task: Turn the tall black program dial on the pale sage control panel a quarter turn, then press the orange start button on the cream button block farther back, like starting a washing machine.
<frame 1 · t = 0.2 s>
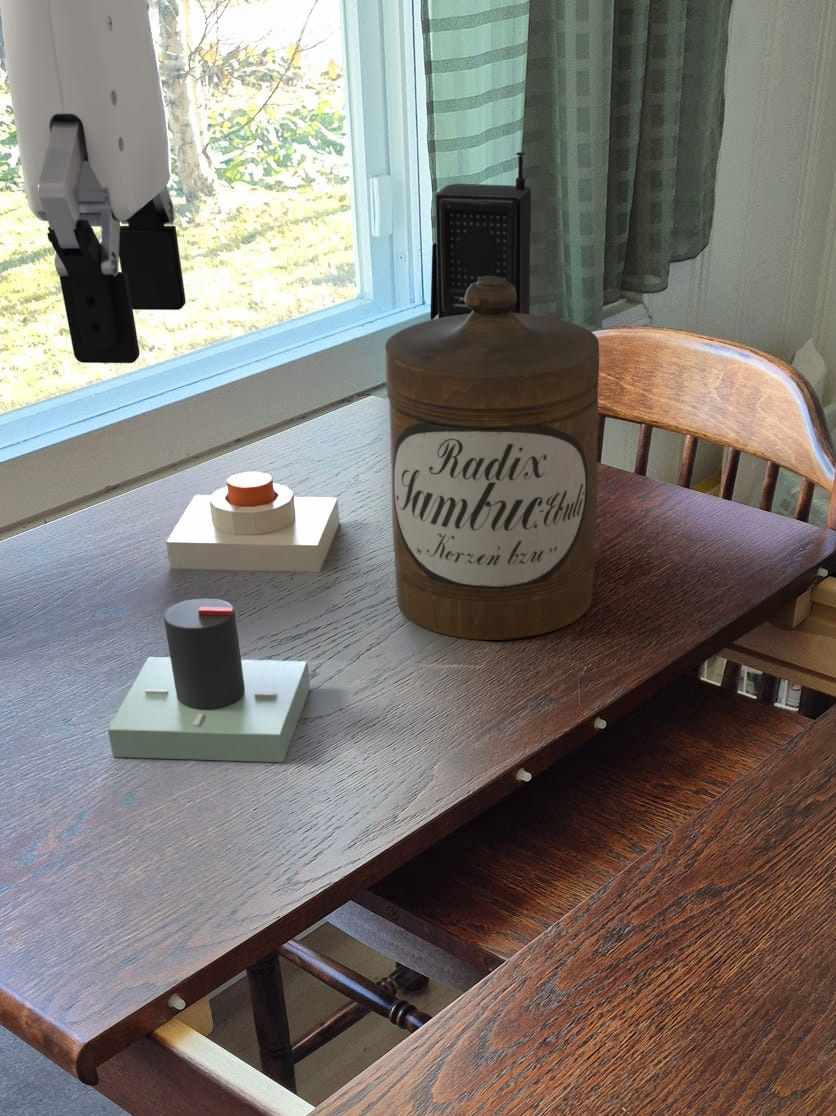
hand: (133, 333, 75), 25 cm above the table, tool pointing down, fingers open, 9 cm apart
start button: (250, 490, 113), point 4 cm above the table, slide at 0.1 cm
wooden container: (494, 601, 108), on the table
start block: (257, 545, 116), on the table
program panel: (215, 721, 94), on the table
dial: (204, 651, 91), point 5 cm above the table, hinge at 0.0°
portable radio: (480, 484, 126), on the table
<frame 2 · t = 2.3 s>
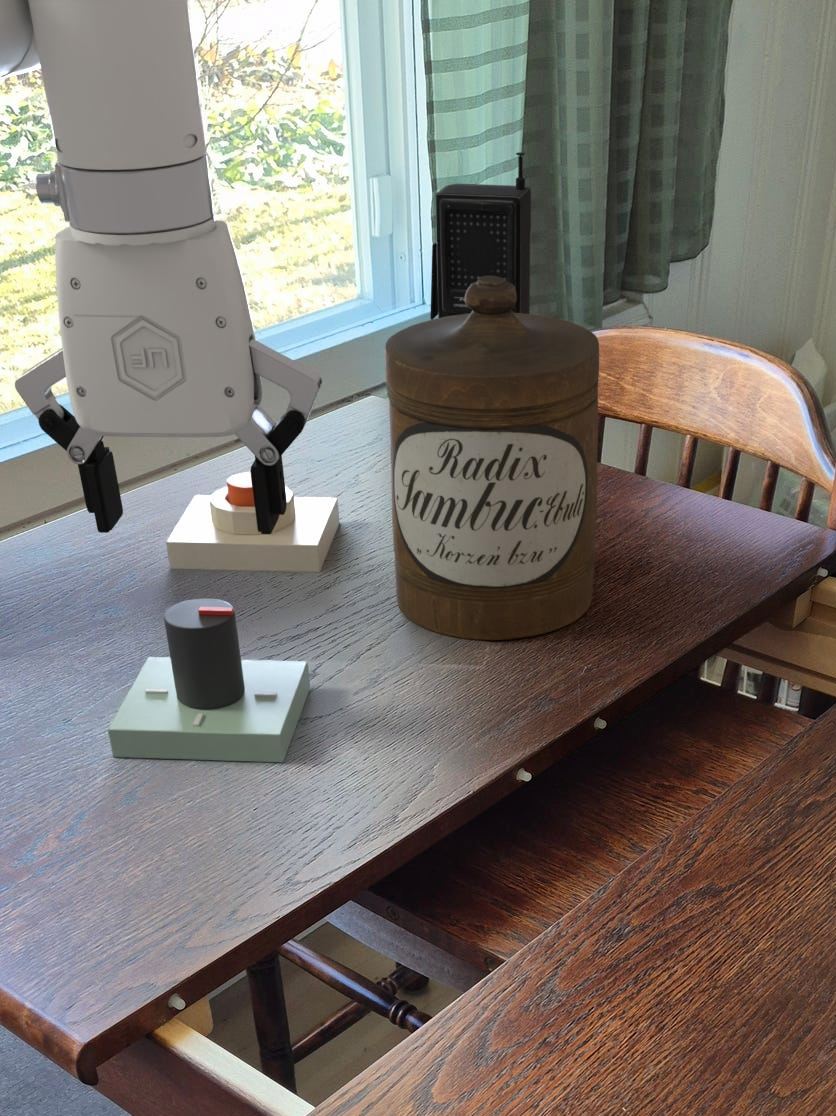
hand: (190, 525, 86), 13 cm above the table, tool pointing down, fingers open, 9 cm apart
nothing on the table moved.
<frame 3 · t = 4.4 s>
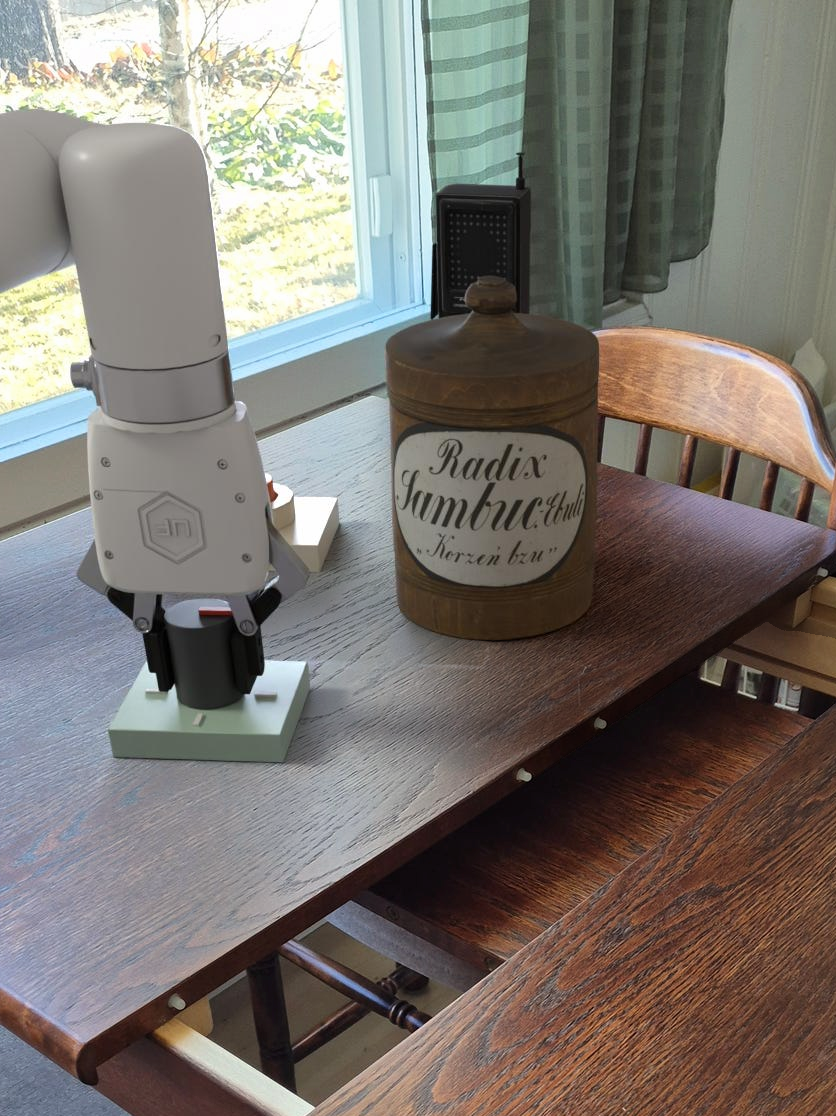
hand: (209, 680, 92), 3 cm above the table, tool pointing down, fingers closed on dial, 4 cm apart
dial: (204, 651, 91), point 5 cm above the table, hinge at 0.1°, touching gripper
everything else where it was.
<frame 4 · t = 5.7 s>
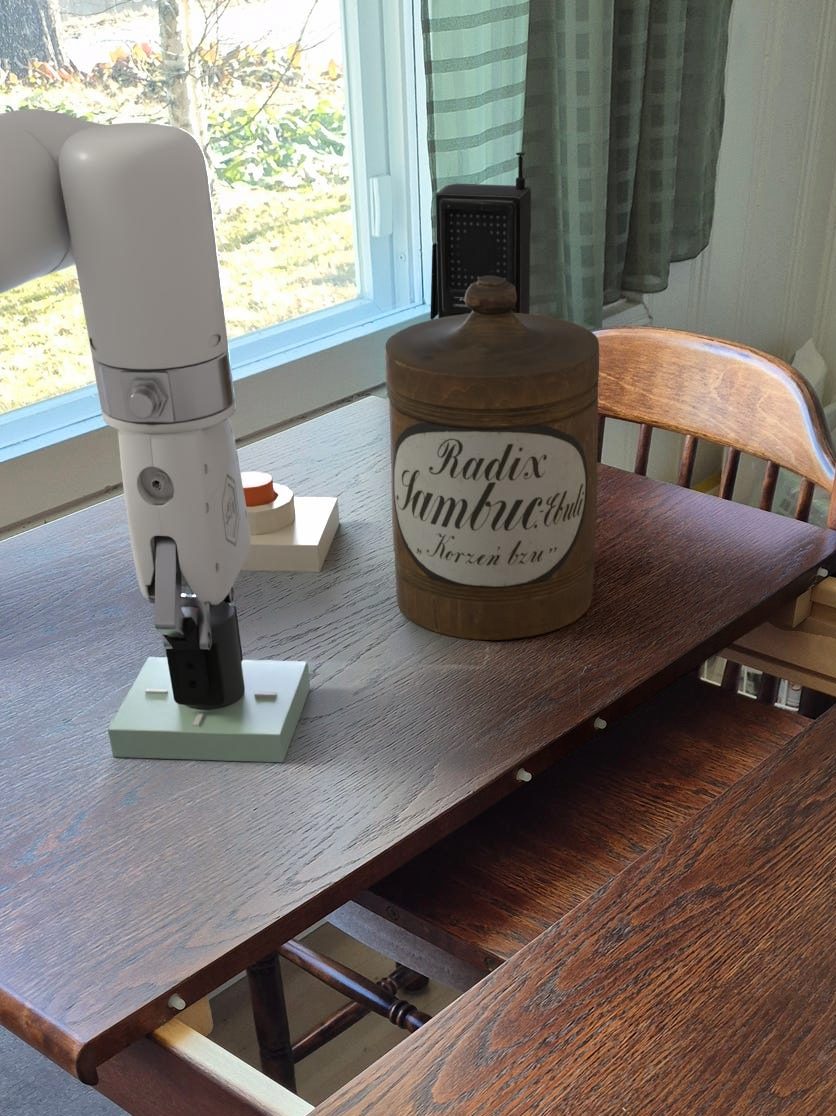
hand: (209, 680, 92), 3 cm above the table, tool pointing down, fingers closed on dial, 4 cm apart
dial: (204, 651, 91), point 5 cm above the table, hinge at 90.5°, touching gripper
everything else where it was.
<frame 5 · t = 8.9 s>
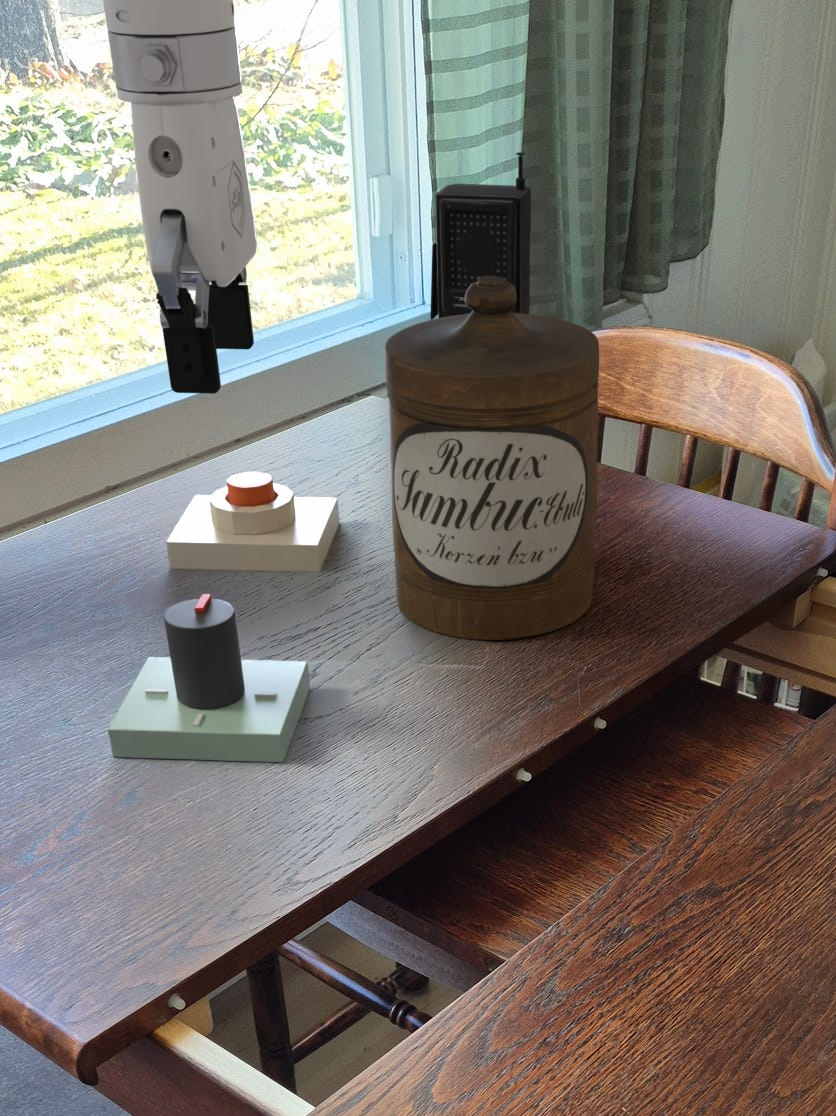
hand: (214, 368, 97), 17 cm above the table, tool pointing down, fingers open, 9 cm apart
dial: (204, 651, 91), point 5 cm above the table, hinge at 89.0°
everything else where it was.
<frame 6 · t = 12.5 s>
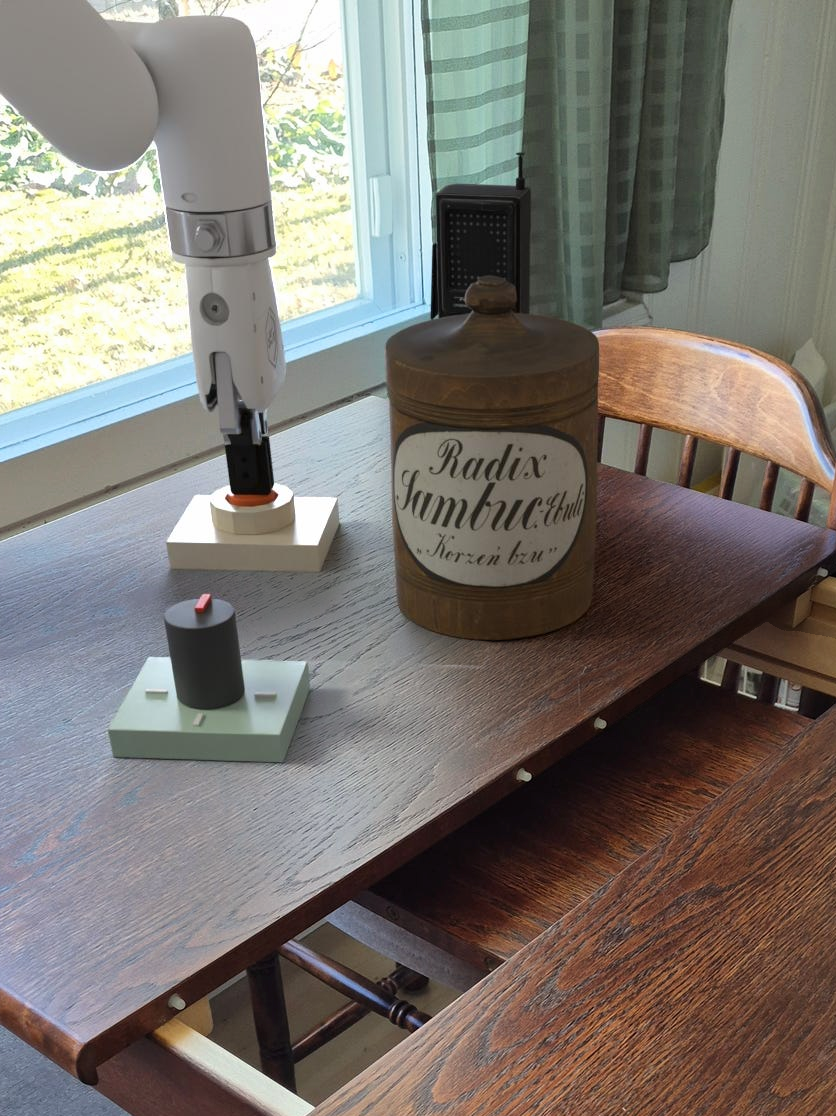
hand: (253, 490, 113), 4 cm above the table, tool pointing down, fingers closed
start button: (252, 502, 114), point 4 cm above the table, slide at -0.9 cm, touching gripper
everything else where it was.
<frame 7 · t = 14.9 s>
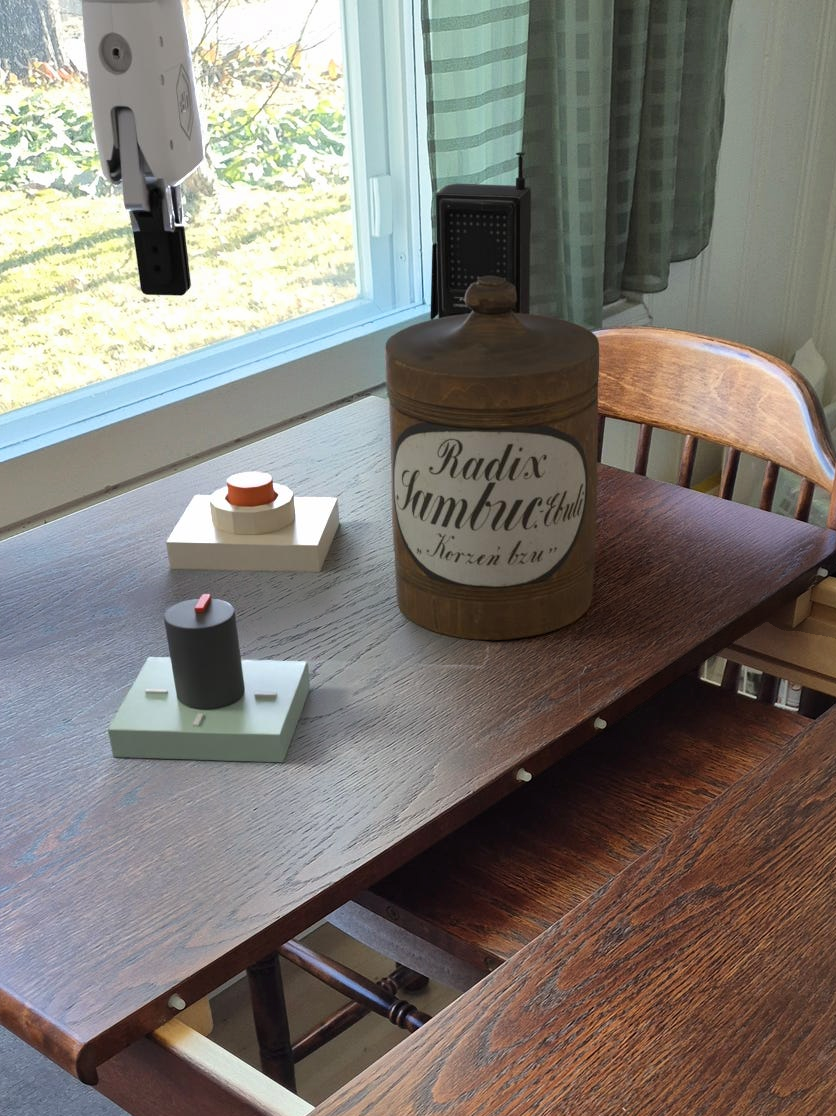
hand: (166, 291, 101), 20 cm above the table, tool pointing down, fingers closed
start button: (250, 490, 113), point 4 cm above the table, slide at 0.1 cm
everything else where it was.
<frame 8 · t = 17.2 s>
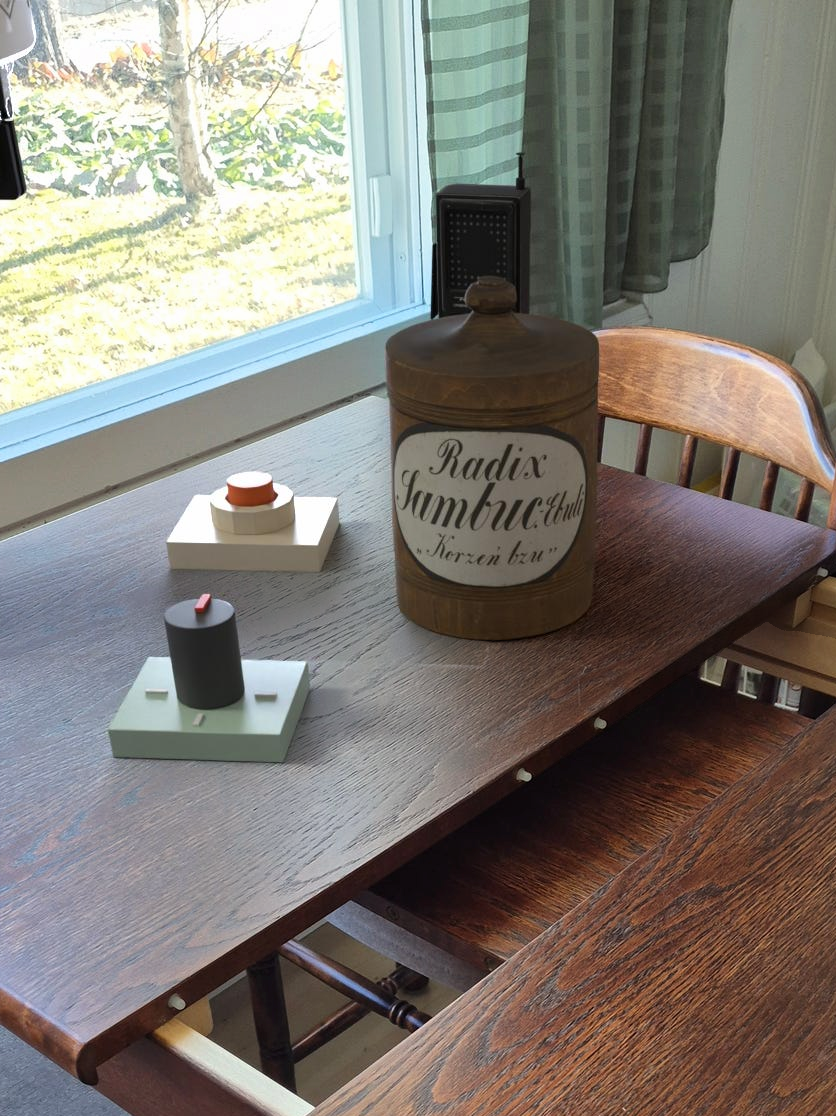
nothing on the table moved.
at the end: dial at +89° (first picture: +0°); start button pushed in 1.1 cm at the most during the clip, back to where it started at the end; start button slide at 0.1 cm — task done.
